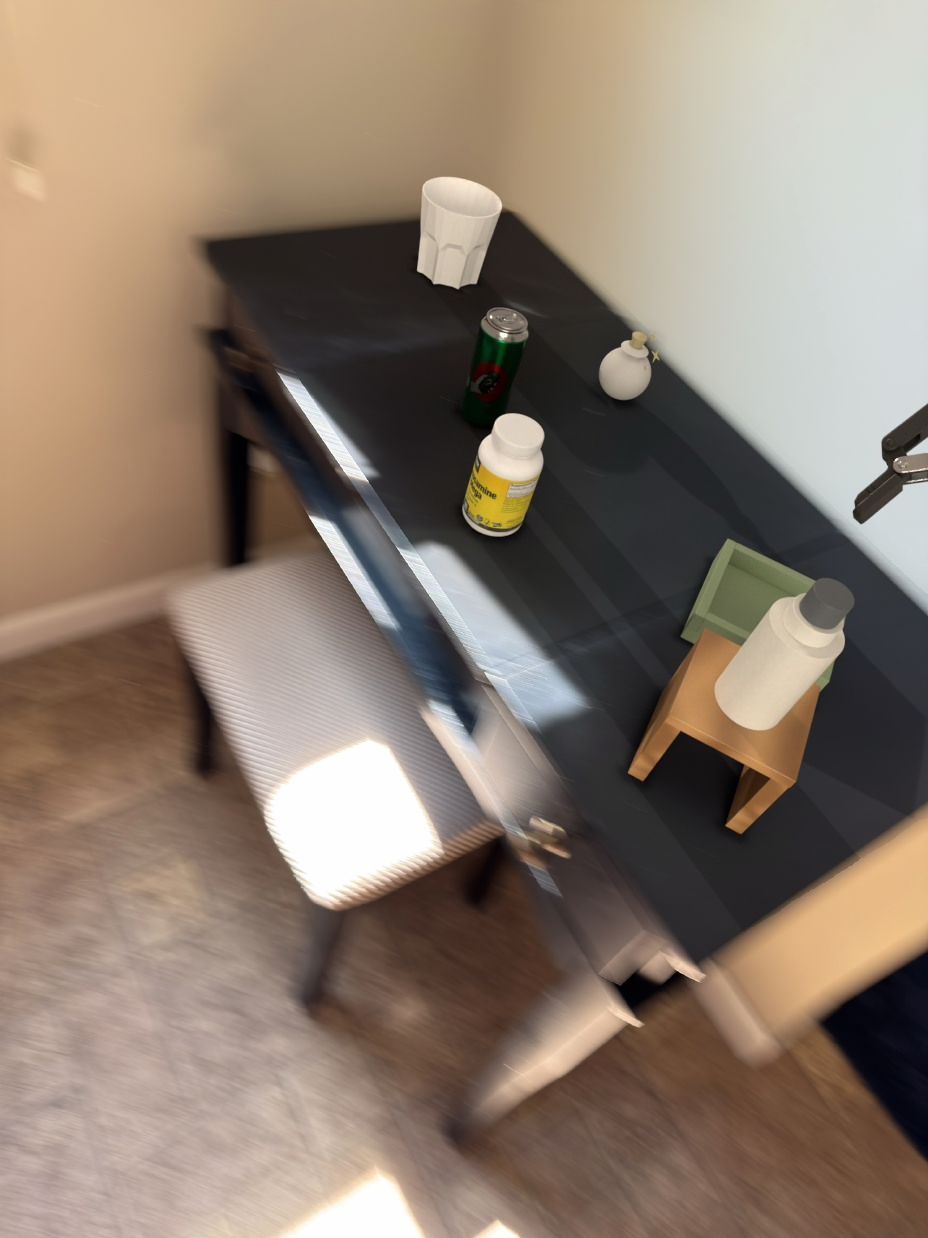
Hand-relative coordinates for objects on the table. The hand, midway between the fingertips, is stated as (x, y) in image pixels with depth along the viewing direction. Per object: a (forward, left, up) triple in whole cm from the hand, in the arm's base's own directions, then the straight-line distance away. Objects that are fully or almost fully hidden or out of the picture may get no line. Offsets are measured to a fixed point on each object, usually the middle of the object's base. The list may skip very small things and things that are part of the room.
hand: (902, 559), depth 60 cm
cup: (+56, -47, -22) cm, 76 cm away
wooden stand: (+4, +6, -22) cm, 23 cm away
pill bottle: (+31, -9, -22) cm, 39 cm away
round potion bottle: (+27, -37, -22) cm, 51 cm away
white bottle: (+4, +6, -13) cm, 15 cm away
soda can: (+39, -23, -22) cm, 50 cm away
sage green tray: (+3, -12, -22) cm, 25 cm away
